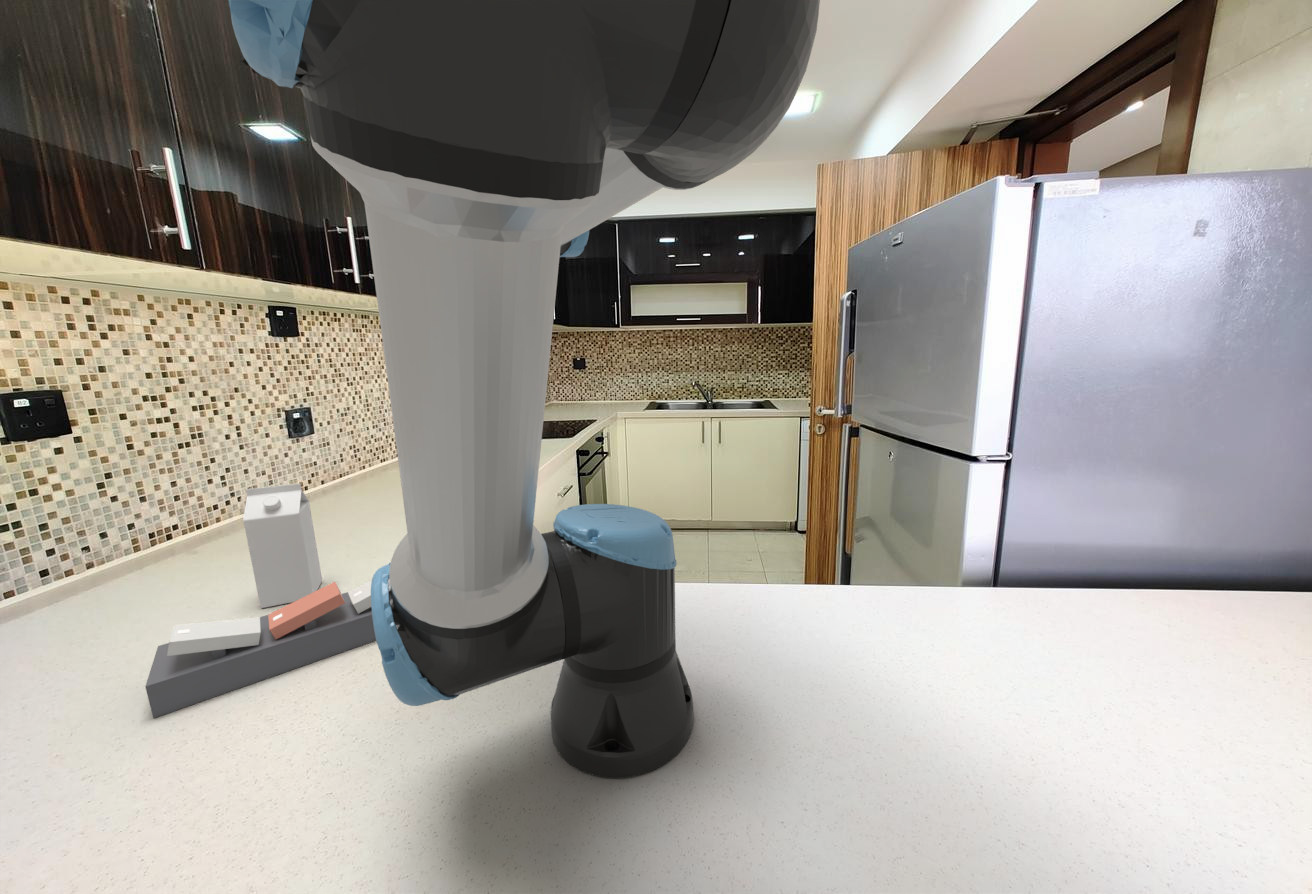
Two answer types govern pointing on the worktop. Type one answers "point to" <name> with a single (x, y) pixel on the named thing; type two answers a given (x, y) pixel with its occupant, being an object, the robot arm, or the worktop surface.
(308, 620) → the rocker red
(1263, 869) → the worktop surface
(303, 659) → the dark grey switch base
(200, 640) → the grey rocker
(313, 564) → the milk carton
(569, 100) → the robot arm
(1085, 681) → the worktop surface
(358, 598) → the grey rocker
